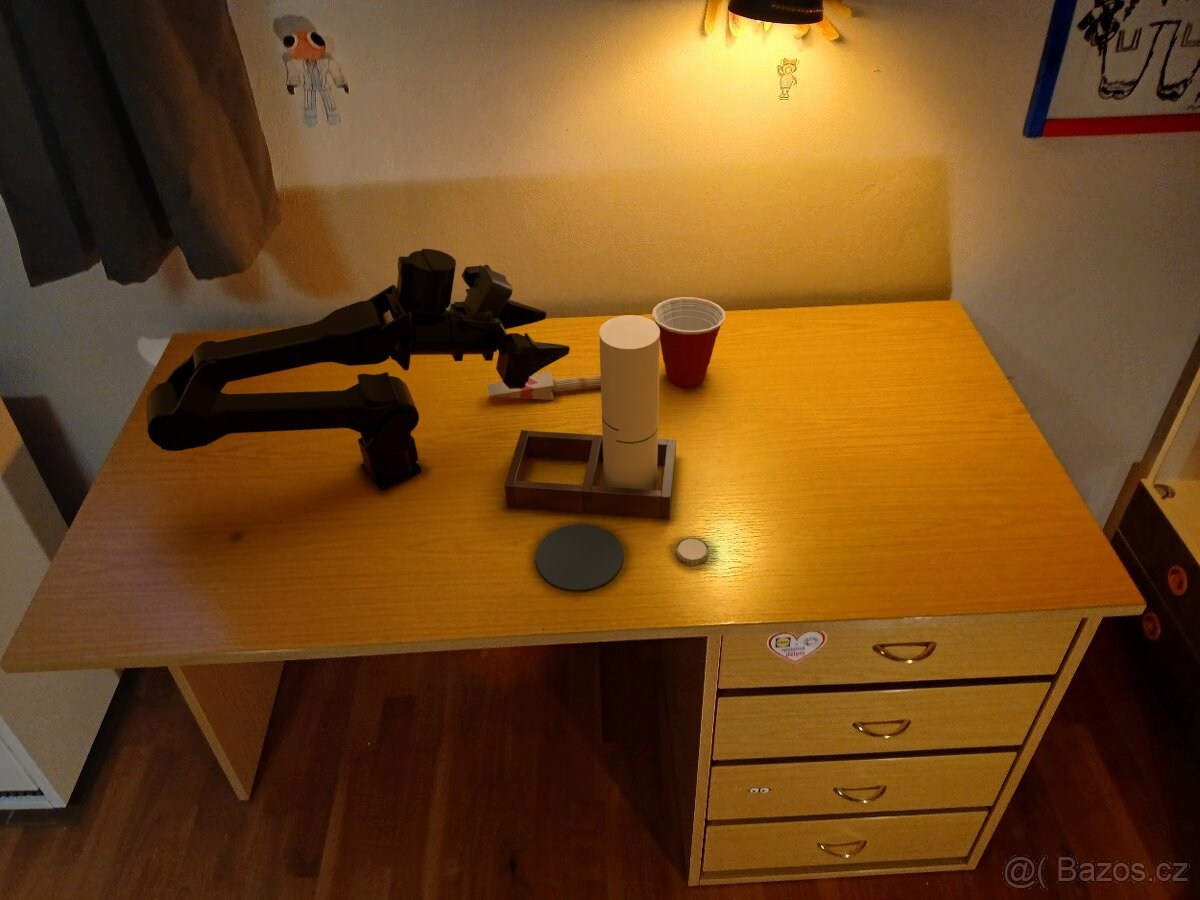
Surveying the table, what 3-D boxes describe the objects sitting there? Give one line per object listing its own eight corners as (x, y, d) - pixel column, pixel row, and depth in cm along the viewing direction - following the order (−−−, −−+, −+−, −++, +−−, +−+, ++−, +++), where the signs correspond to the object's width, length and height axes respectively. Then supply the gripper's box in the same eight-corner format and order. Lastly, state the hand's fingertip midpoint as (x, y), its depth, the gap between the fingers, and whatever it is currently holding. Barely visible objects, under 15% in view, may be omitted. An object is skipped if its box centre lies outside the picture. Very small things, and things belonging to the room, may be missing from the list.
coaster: (570, 606, 108) (570, 604, 108) (518, 552, 115) (518, 550, 114) (641, 562, 113) (641, 560, 113) (588, 513, 120) (588, 511, 119)
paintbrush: (487, 374, 138) (617, 366, 141) (488, 389, 140) (616, 380, 142) (488, 389, 135) (621, 381, 138) (489, 404, 137) (620, 395, 139)
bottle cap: (703, 567, 112) (703, 564, 111) (672, 559, 113) (672, 556, 113) (712, 545, 115) (712, 542, 114) (681, 537, 116) (681, 534, 115)
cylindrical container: (625, 461, 127) (624, 308, 111) (667, 483, 124) (672, 328, 107) (593, 489, 123) (586, 335, 107) (635, 512, 120) (635, 356, 103)
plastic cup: (726, 362, 144) (731, 297, 137) (714, 403, 137) (719, 336, 129) (659, 353, 147) (660, 288, 139) (643, 392, 139) (644, 326, 131)
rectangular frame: (507, 507, 121) (504, 485, 118) (523, 451, 129) (521, 429, 127) (669, 519, 118) (670, 497, 116) (675, 461, 127) (676, 439, 124)
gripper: (474, 313, 106) (595, 314, 112) (434, 242, 119) (545, 247, 126) (461, 392, 112) (577, 389, 119) (424, 317, 125) (530, 318, 132)
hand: (557, 332), depth 124 cm, fingers open, 9 cm apart
